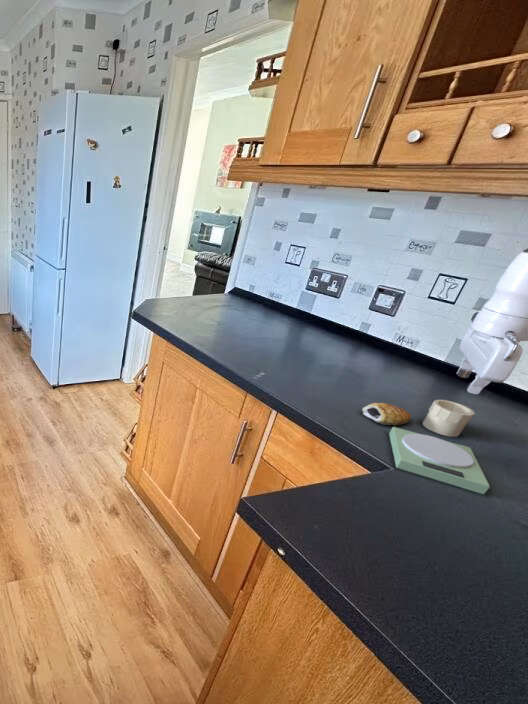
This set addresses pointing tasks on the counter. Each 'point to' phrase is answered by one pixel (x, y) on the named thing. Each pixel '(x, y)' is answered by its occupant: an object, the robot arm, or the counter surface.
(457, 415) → the cream hollow cylinder
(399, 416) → the pastry
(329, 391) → the counter surface
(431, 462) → the scale
